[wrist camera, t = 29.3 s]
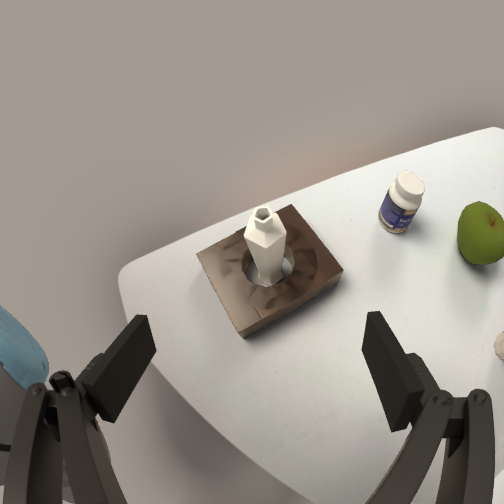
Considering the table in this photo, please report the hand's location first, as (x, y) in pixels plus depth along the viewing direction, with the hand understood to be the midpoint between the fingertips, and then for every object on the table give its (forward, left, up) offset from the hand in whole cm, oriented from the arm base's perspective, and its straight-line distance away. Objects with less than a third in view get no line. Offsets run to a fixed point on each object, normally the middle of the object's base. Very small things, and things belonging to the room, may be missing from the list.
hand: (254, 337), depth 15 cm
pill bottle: (+29, +9, -22) cm, 38 cm away
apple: (+39, -4, -22) cm, 45 cm away
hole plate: (+6, +12, -22) cm, 26 cm away
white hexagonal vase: (+6, +12, -22) cm, 26 cm away
